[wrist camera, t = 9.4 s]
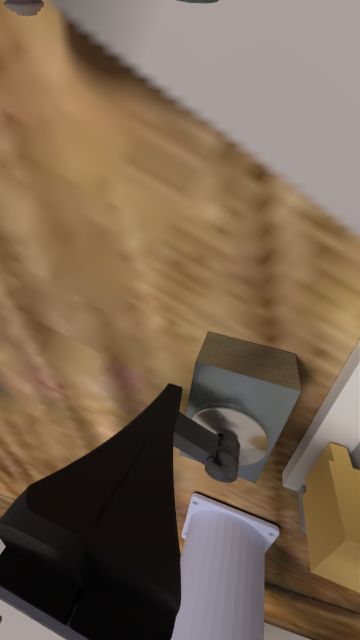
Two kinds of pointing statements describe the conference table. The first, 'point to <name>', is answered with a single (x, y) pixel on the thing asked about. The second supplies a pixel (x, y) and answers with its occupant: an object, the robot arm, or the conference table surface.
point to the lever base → (243, 396)
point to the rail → (329, 429)
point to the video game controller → (29, 3)
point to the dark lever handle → (208, 448)
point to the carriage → (334, 518)
